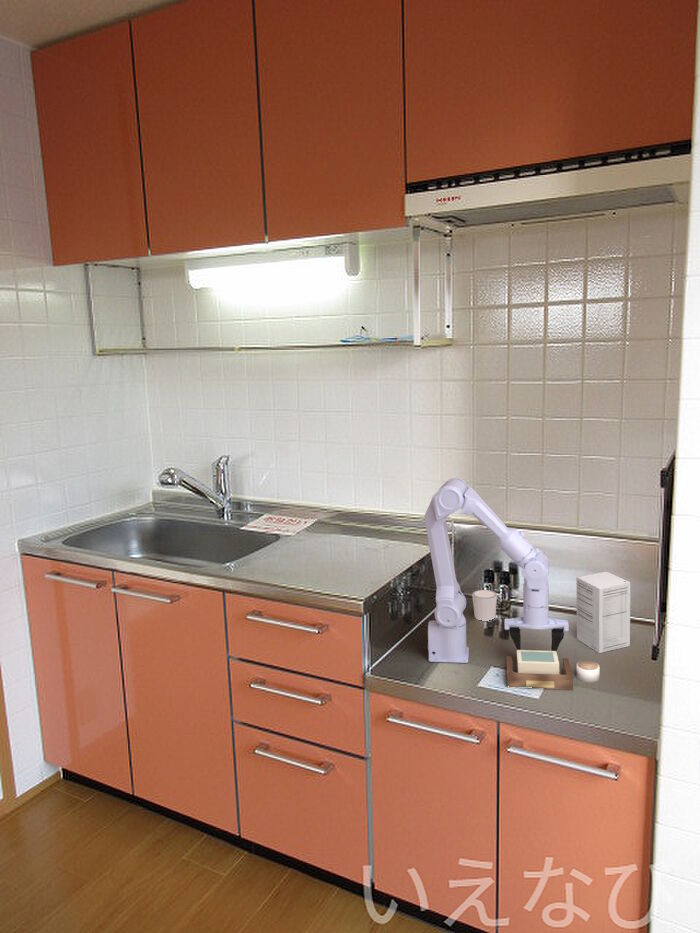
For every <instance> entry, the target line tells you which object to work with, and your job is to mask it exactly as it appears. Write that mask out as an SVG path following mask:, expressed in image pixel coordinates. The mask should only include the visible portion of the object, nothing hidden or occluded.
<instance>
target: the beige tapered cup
mask: <svg viewBox="0 0 700 933" xmlns="http://www.w3.org/2000/svg"><path fill="white" fill-rule="evenodd" d="M471 596H472V604H473V612H474V614H473V615H474V619H475V618H476V619H478V620H482V621H488V622H490V621H489V620H492V619H494V618H495V619H496V615H497V614H496V613H497V600H498V593H497V592H496V591H494V590H491V589H490V590H489V589H480V590H475V591H473V592H472V595H471ZM476 619H475V620H476ZM495 619H494V620H495ZM478 620H477V621H478ZM482 621H481V622H482Z"/></svg>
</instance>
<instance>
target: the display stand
mask: <svg viewBox="0 0 700 933" xmlns="http://www.w3.org/2000/svg"><path fill="white" fill-rule="evenodd" d="M505 658H506V660H505V661H506V662H505V663H506V681H507V682H506V683H507V687H508V686H509V687H532V688H546V689H545V690H553V689H561V690H562V691H574V677H573V673H572V672H573V671H572V668H571V664H570V659H569V658H567V657H566V658H565V657H564V658H562V672H563V674H559V675H558V674H532V673H518V672H514V671H513V670H514V669H513V656H509V655H507V656H506V657H505ZM561 690H560V691H561Z"/></svg>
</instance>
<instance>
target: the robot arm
mask: <svg viewBox="0 0 700 933" xmlns="http://www.w3.org/2000/svg"><path fill="white" fill-rule="evenodd" d="M459 510H460V513H459V514H461V515H469V516H473V517H474V518H476V519H477V520H478V521H479V522H480V523H481V524H482V525H483V526H485V528H486V529H488V530H489V531H490V532H491V533H492V534H493V535H494V536H495V537H496V538H497V546H498V548H500V549H501V550H502V551H503V553H504V554H505V555H507V557H509V559H510V560H512V561H513V562H514V564H515V565H517V567H520V568H521V570H520V571H521V574H522V577H523V584H522V586H523V587H522V590H523V592H522V593H523V594H522V595H523V596H522V597H523V600H522V602H523V603H522V604H523V611H522V612H523V616H522V617H512V618H504V622H503V623H504V624H503V626H504V630H509V635H510V638H511V639H512V642H513V644H514V645H515V649H516V651H517V650H522V648H521V630H522V629H523V630H524V629H525V630H551V632H550V633H551V646H550V651H556V652H558V648H559V646H560V644H561V643H562V641H563V639H564V637H565V632H569V630H570V629H569V623H570V622H569V621H568V620H567V619H559V618H553V617H549V616H550V614H549V612H550V611H549V610H550V609H549V602H550V601H549V598H550V597H549V584H548V583H549V577H548V576H549V566H550V562H549V558H548V556H547V555H546V553H545V552H544V551H542V550H540V549H539V548H538V547H536V546H534V545H533V544H532V543H531V542H530V541H528V539H527V538H525V536H526V533H524V531H522V530H520V531H519V530H518V529H517V528H511V527H507V525H506V524H505V523H504V522H503V521H502V520H501V518H499V516H498V515H497V513H495V512H494V511H493V510H492V509H491V508H490V507H489V505H488V504H487V503H486V502H485V501H484V500H483V499H482V498H481V496H480V495H479V494H478V493H477V492H476V490H475V489H473V488H472V487H471V486H468V484H467V482H466V481H464V480H463V479H461V478H459V477H453V478H450V479H448V480H447V481H445V482H444V484H443V485H441V487H439V489H438V490H437V492H435V493H434V495H433V496H432V498H431V500H430V502H429V504H428V507H427V509H426V511H425V514H424V515H423V516H424V526H425V530H426V537H427V541H428V547H429V551H430V558H431V562H432V563H431V565H432V569H433V575H434V580H435V586H436V592H435V602H436V604H435V605H436V606H435V609H434V618H435V620H429V621H428V625H427V640H428V642H427V650H428V662H430V663H431V662H432V663H456V664H457V663H458V664H461V663H462V664H467V663H469V652H470V651H469V649H470V648H469V646H467V619H466V617H465V615H464V613H463V612H464V610H465V609H466V606H467V599H466V598H467V597H466V596H465V595H464V594H463V592H462V591H461V585H460V584H459V582H458V581H457V576H456V570H455V569H456V568H455V564H454V560H453V558H454V557H453V553H452V547H451V542H450V536H449V531H448V526H447V519H448V518H449V517H450V515H451V514H454V513H455V512H457V511H459Z"/></svg>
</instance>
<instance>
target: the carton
mask: <svg viewBox="0 0 700 933" xmlns="http://www.w3.org/2000/svg"><path fill="white" fill-rule="evenodd" d="M557 652H558V651H557ZM557 652H556V651H551V650H534V649H533V650H532V649H521V650H517V649H516V669H517V671H516V673H532V674H558V675H560V661H559V656H558V653H557Z"/></svg>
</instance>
